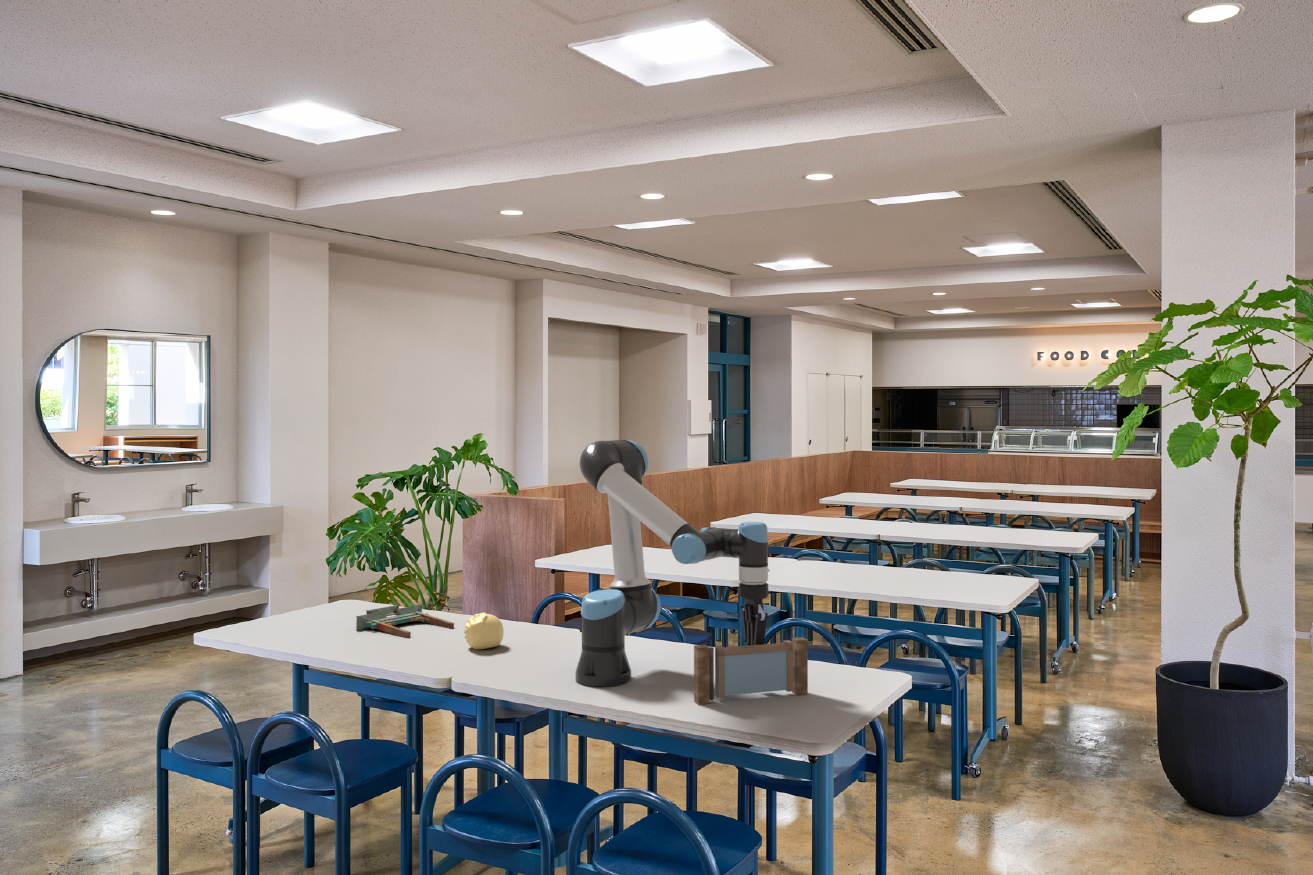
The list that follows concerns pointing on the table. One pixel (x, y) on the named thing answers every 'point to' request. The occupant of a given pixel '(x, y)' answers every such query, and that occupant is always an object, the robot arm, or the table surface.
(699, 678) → the gate posts
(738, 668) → the gate leaf
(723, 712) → the table surface
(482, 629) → the sculpture
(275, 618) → the table surface
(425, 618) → the miniature gate
